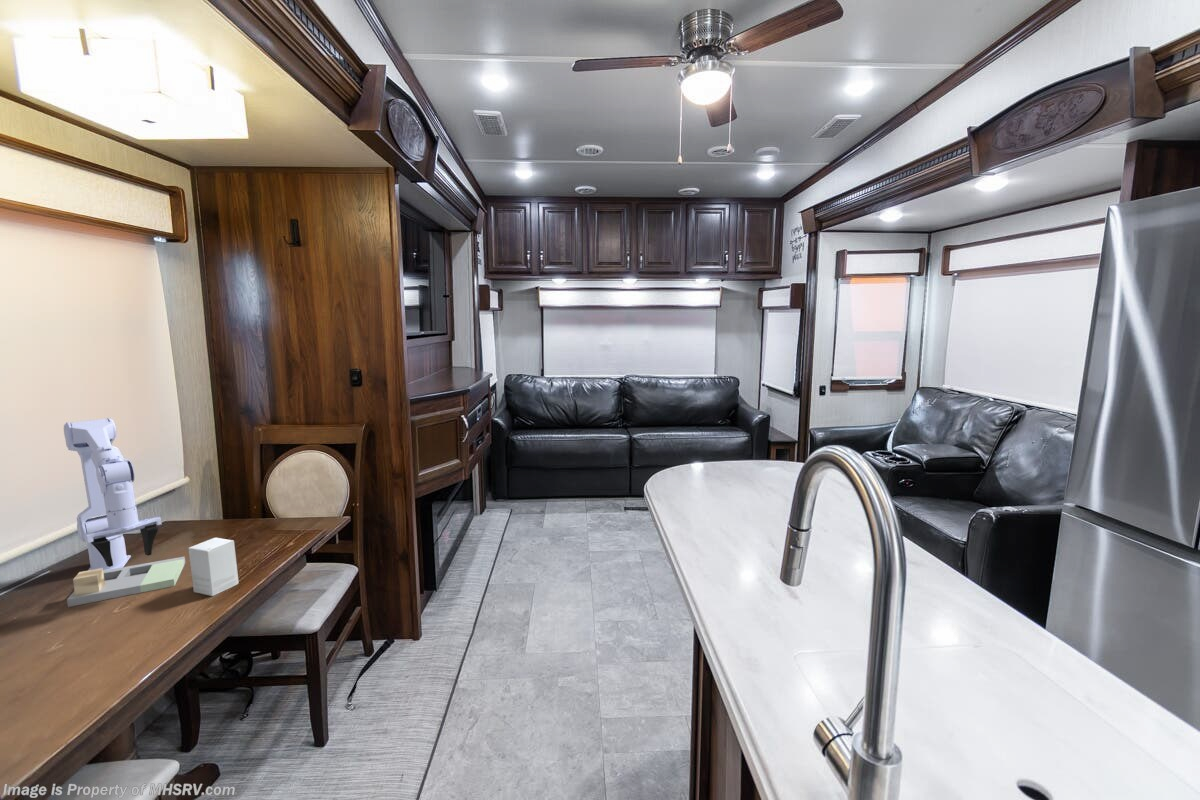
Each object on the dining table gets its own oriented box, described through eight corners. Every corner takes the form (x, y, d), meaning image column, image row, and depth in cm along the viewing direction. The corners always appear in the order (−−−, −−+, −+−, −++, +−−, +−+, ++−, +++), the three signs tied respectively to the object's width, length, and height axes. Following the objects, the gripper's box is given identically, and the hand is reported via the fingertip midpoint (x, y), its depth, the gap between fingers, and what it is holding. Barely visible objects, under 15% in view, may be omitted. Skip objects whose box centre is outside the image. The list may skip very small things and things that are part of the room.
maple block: (81, 588, 134) (79, 572, 134) (104, 584, 137) (102, 568, 136) (75, 596, 131) (72, 579, 130) (99, 591, 133) (97, 575, 132)
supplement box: (239, 583, 141) (235, 540, 139) (212, 597, 134) (206, 551, 132) (220, 579, 143) (216, 536, 142) (192, 592, 136) (187, 547, 135)
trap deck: (89, 580, 143) (88, 573, 142) (185, 562, 153) (184, 556, 153) (68, 607, 129) (66, 599, 129) (174, 585, 140) (173, 579, 139)
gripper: (87, 518, 123) (96, 573, 124) (162, 502, 135) (170, 551, 136) (78, 516, 127) (87, 569, 128) (152, 500, 139) (159, 548, 140)
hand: (129, 560), depth 132 cm, fingers open, 7 cm apart
